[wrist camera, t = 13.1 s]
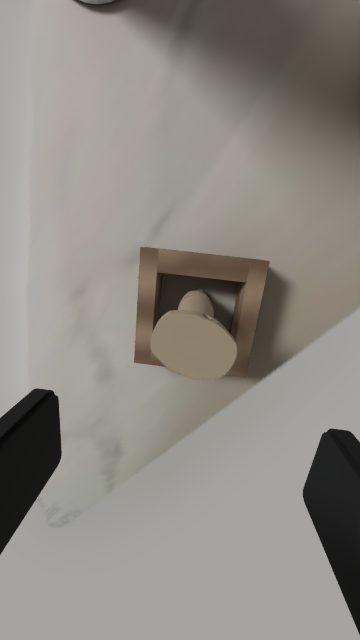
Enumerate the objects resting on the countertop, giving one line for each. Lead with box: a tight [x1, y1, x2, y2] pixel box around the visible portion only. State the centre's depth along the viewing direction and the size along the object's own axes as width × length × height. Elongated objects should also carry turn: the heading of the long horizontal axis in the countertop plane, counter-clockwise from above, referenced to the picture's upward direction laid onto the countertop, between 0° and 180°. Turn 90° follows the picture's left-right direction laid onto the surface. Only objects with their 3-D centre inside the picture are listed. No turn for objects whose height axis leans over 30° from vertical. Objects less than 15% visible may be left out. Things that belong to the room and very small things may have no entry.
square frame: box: [134, 247, 270, 377], centre depth 30 cm, size 14×14×4 cm
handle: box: [150, 289, 237, 380], centre depth 25 cm, size 5×6×15 cm
